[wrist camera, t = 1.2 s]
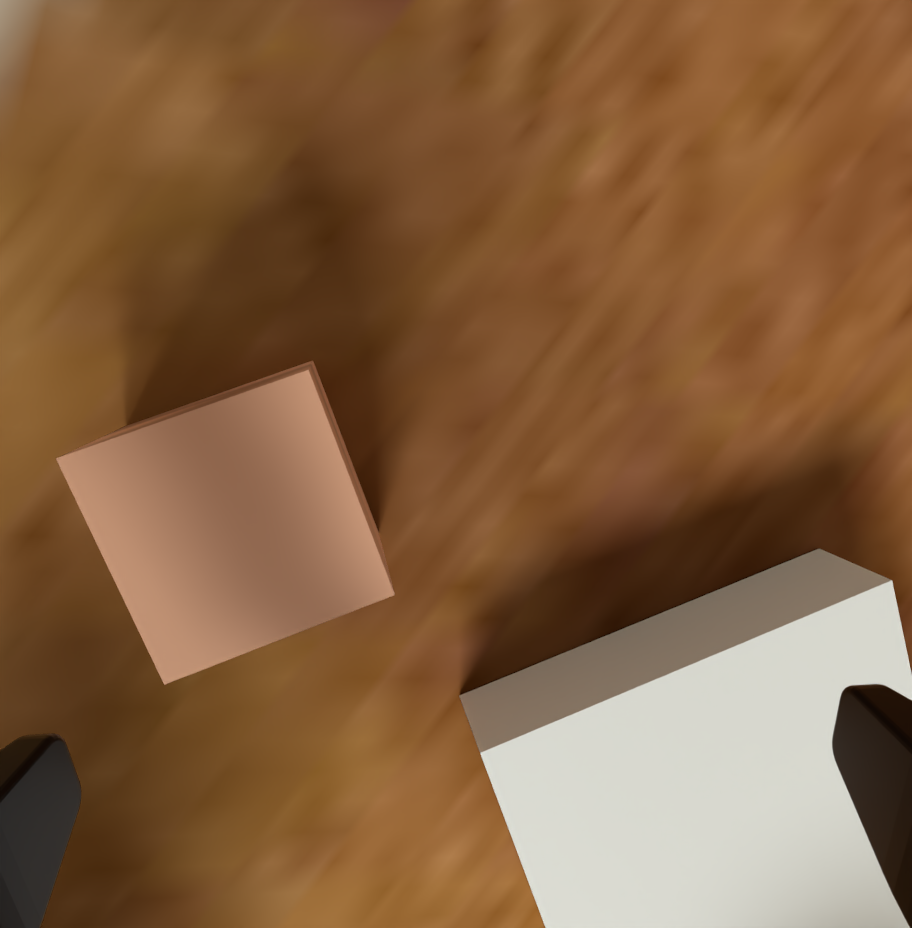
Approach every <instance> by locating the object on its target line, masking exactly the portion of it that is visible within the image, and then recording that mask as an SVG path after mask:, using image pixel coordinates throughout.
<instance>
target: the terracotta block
mask: <svg viewBox="0 0 912 928" xmlns="http://www.w3.org/2000/svg"><path fill="white" fill-rule="evenodd" d="M56 460H57V462H58V464H59V466H60V468H61V470H62V472H63V474H64V477H65V479H66V481H67V483H68V485H69V487H70V489H71V491H72V493H73V495H74V497H75V499H76V502H77V504H78V506H79V508H80V510H81V512H82V514H83V516H84V518H85V520H86V522H87V525H88V527H89V529H90V531H91V533H92V535H93V537H94V539H95V541H96V543H97V545H98V547H99V550H100V552H101V554H102V556H103V558H104V560H105V562H106V564H107V566H108V568H109V570H110V573H111V575H112V577H113V579H114V581H115V583H116V585H117V587H118V589H119V591H120V593H121V595H122V598H123V600H124V602H125V604H126V606H127V608H128V610H129V612H130V614H131V616H132V618H133V620H134V623H135V625H136V627H137V629H138V631H139V633H140V635H141V637H142V639H143V641H144V643H145V646H146V648H147V650H148V652H149V654H150V656H151V658H152V660H153V662H154V664H155V666H156V668H157V671H158V673H159V675H160V677H161V679H162V681H163V683H164V685H165V684H167V683H170V682H173V681H175V680H178V679H180V678H183V677H185V676H188V675H191V674H193V673H196V672H198V671H201V670H203V669H206V668H209V667H211V666H214V665H216V664H219V663H221V662H224V661H227V660H229V659H232V658H234V657H237V656H239V655H242V654H244V653H247V652H250V651H252V650H255V649H257V648H260V647H262V646H265V645H268V644H270V643H273V642H275V641H278V640H280V639H283V638H286V637H288V636H291V635H293V634H296V633H298V632H301V631H303V630H306V629H309V628H311V627H314V626H316V625H319V624H321V623H324V622H327V621H329V620H332V619H334V618H337V617H339V616H342V615H345V614H347V613H350V612H352V611H355V610H357V609H360V608H362V607H365V606H368V605H370V604H373V603H375V602H378V601H380V600H383V599H386V598H388V597H391V596H393V595H395V593H394V590H393V586H392V582H391V578H390V574H389V570H388V566H387V563H386V559H385V555H384V551H383V547H382V543H381V539H380V536H379V532H378V529H377V527H376V524H375V522H374V519H373V516H372V514H371V511H370V508H369V506H368V503H367V501H366V498H365V495H364V493H363V490H362V487H361V485H360V482H359V480H358V477H357V474H356V472H355V469H354V467H353V464H352V461H351V459H350V456H349V453H348V451H347V448H346V446H345V443H344V440H343V438H342V435H341V432H340V430H339V427H338V425H337V422H336V419H335V417H334V414H333V411H332V409H331V406H330V404H329V401H328V398H327V396H326V393H325V390H324V388H323V385H322V383H321V380H320V377H319V375H318V372H317V369H316V367H315V364H314V362H313V361H310V362H307V363H304V364H301V365H298V366H295V367H293V368H290V369H287V370H284V371H281V372H278V373H275V374H273V375H270V376H267V377H264V378H261V379H258V380H255V381H253V382H250V383H247V384H244V385H241V386H238V387H235V388H233V389H230V390H227V391H224V392H221V393H218V394H216V395H213V396H210V397H207V398H204V399H201V400H198V401H196V402H193V403H190V404H187V405H184V406H181V407H178V408H176V409H173V410H170V411H167V412H164V413H161V414H158V415H156V416H153V417H150V418H147V419H144V420H141V421H138V422H136V423H133V424H130V425H127V426H125V427H122V428H120V429H118V430H116V431H114V432H112V433H110V434H107V435H105V436H103V437H101V438H99V439H97V440H95V441H92V442H90V443H88V444H86V445H84V446H82V447H80V448H77V449H75V450H73V451H71V452H69V453H67V454H65V455H62V456H60V457H58V458H56Z"/></svg>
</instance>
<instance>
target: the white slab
mask: <svg viewBox="0 0 912 928" xmlns="http://www.w3.org/2000/svg"><path fill="white" fill-rule="evenodd" d="M866 684H882V685H885V686H887V687H889V688H891V689H893V690H895V691H896V692H898V693H900V694H902V695H903V696H905V697H907V698H909V699H910V700H912V674H911V669H910V664H909V659H908V654H907V650H906V645H905V640H904V635H903V631H902V626H901V621H900V616H899V611H898V607H897V602H896V597H895V592H894V588H893V583H892V580H890V579H888V578H886V577H883V576H881V575H879V574H876V573H874V572H872V571H870V570H867V569H865V568H863V567H860V566H858V565H856V564H854V563H851V562H849V561H847V560H845V559H842V558H840V557H838V556H835V555H833V554H831V553H829V552H826V551H824V550H822V549H816V550H814V551H812V552H809V553H807V554H804V555H802V556H799V557H797V558H794V559H792V560H790V561H787V562H785V563H782V564H780V565H777V566H775V567H772V568H770V569H768V570H765V571H763V572H760V573H758V574H755V575H753V576H750V577H748V578H746V579H743V580H741V581H738V582H736V583H733V584H731V585H728V586H726V587H724V588H721V589H719V590H716V591H714V592H711V593H709V594H706V595H704V596H702V597H699V598H697V599H694V600H692V601H689V602H687V603H684V604H682V605H680V606H677V607H675V608H672V609H670V610H667V611H665V612H662V613H660V614H658V615H655V616H653V617H650V618H648V619H645V620H643V621H640V622H638V623H636V624H633V625H631V626H628V627H626V628H623V629H621V630H618V631H616V632H614V633H611V634H609V635H606V636H604V637H601V638H599V639H596V640H594V641H592V642H589V643H587V644H584V645H582V646H579V647H577V648H574V649H572V650H570V651H567V652H565V653H562V654H560V655H557V656H555V657H552V658H550V659H548V660H545V661H543V662H540V663H538V664H535V665H533V666H530V667H528V668H526V669H523V670H521V671H518V672H516V673H513V674H511V675H508V676H506V677H504V678H501V679H499V680H496V681H494V682H491V683H489V684H486V685H484V686H482V687H479V688H477V689H474V690H472V691H469V692H467V693H464V694H462V695H460V699H461V702H462V705H463V707H464V710H465V713H466V716H467V718H468V721H469V724H470V726H471V729H472V732H473V735H474V737H475V740H476V743H477V746H478V748H479V751H480V754H481V756H482V759H483V762H484V764H485V767H486V770H487V772H488V775H489V778H490V780H491V783H492V786H493V788H494V791H495V794H496V796H497V799H498V802H499V804H500V807H501V810H502V812H503V815H504V818H505V820H506V823H507V826H508V828H509V831H510V834H511V836H512V839H513V842H514V844H515V847H516V850H517V852H518V855H519V858H520V860H521V863H522V866H523V868H524V871H525V874H526V877H527V879H528V882H529V885H530V887H531V890H532V893H533V895H534V898H535V901H536V903H537V906H538V909H539V911H540V914H541V917H542V919H543V922H544V925H545V927H546V928H910V927H909V925H908V923H907V922H906V920H905V918H904V916H903V914H902V912H901V910H900V908H899V906H898V904H897V902H896V900H895V898H894V897H893V895H892V892H891V890H890V888H889V886H888V884H887V881H886V879H885V877H884V875H883V873H882V870H881V868H880V866H879V863H878V861H877V859H876V856H875V854H874V852H873V849H872V847H871V844H870V842H869V840H868V837H867V835H866V833H865V830H864V828H863V826H862V823H861V821H860V819H859V816H858V814H857V812H856V809H855V807H854V804H853V802H852V800H851V797H850V795H849V793H848V790H847V788H846V786H845V783H844V781H843V779H842V776H841V774H840V772H839V769H838V767H837V764H836V762H835V759H834V755H833V750H832V736H833V731H834V726H835V721H836V716H837V711H838V706H839V701H840V696H841V693H842V691H843V690H844V689H845V688H846V687H848V686H851V685H866Z"/></svg>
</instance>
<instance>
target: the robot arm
mask: <svg viewBox="0 0 912 928" xmlns="http://www.w3.org/2000/svg"><path fill="white" fill-rule="evenodd" d="M832 750H833V755H834V759H835V762H836V764H837V767H838V769H839V772H840V774H841V776H842V779H843V781H844V783H845V786H846V788H847V790H848V793H849V795H850V797H851V800H852V802H853V804H854V807H855V809H856V812H857V814H858V816H859V819H860V821H861V823H862V826H863V828H864V830H865V833H866V835H867V837H868V840H869V842H870V844H871V847H872V849H873V852H874V854H875V856H876V859H877V861H878V863H879V866H880V868H881V870H882V873H883V875H884V877H885V879H886V881H887V884H888V886H889V888H890V890H891V892H892V895H893V897H894V898H895V900H896V902H897V904H898V906H899V908H900V910H901V912H902V914H903V916H904V918H905V920H906V922H907V923H908V925H909V927H910V928H912V700H910V699H909V698H907V697H905V696H903V695H902V694H900V693H898V692H896V691H895V690H893V689H891V688H889V687H887V686H885V685H882V684H866V685H851V686H848V687H846V688H845V689H844V690H843V691H842V693H841V696H840V701H839V706H838V711H837V716H836V721H835V726H834V731H833V736H832ZM80 802H81V785H80V782H79V779H78V776H77V773H76V770H75V767H74V765H73V762H72V759H71V756H70V753H69V751H68V748H67V745H66V743H65V740H64V739H63V738H62V737H61V736H60V735H58V734H53V733H52V734H35V735H26V736H22V737H19V738H18V739H16V740H15V741H13V742H12V743H10V744H9V745H7V746H6V747H5V748H3V749H2V750H0V928H40V927H41V924H42V922H43V918H44V915H45V912H46V909H47V906H48V903H49V900H50V897H51V894H52V891H53V888H54V885H55V881H56V878H57V875H58V872H59V869H60V866H61V863H62V860H63V857H64V854H65V851H66V848H67V845H68V841H69V838H70V835H71V832H72V829H73V826H74V823H75V820H76V817H77V814H78V811H79V807H80Z"/></svg>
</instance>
